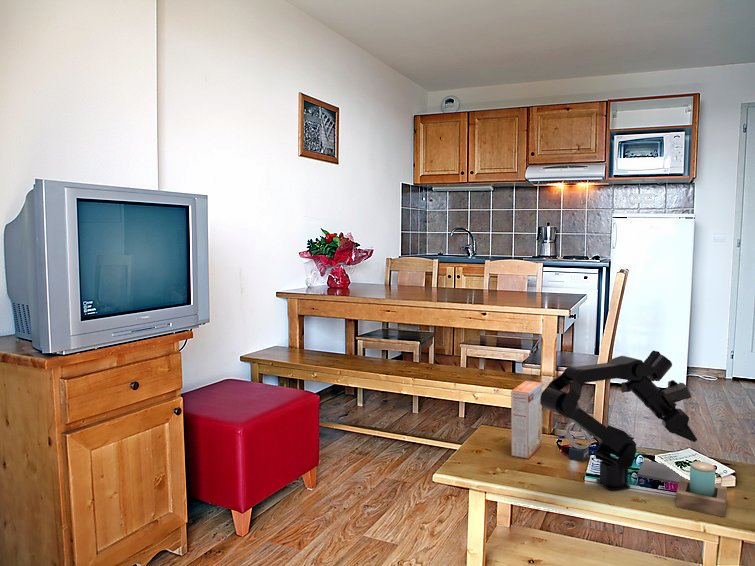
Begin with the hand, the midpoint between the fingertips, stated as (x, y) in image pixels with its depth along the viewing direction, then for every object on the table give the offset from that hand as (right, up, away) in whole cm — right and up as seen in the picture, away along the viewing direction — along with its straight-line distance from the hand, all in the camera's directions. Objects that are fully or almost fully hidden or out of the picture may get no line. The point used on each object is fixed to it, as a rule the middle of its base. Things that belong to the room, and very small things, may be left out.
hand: (690, 435), depth 162 cm
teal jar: (-3, -14, -11) cm, 18 cm away
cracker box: (-38, -12, +26) cm, 48 cm away
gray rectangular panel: (0, -13, +5) cm, 14 cm away
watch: (-23, -12, +20) cm, 33 cm away
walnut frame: (-3, -14, -11) cm, 18 cm away
